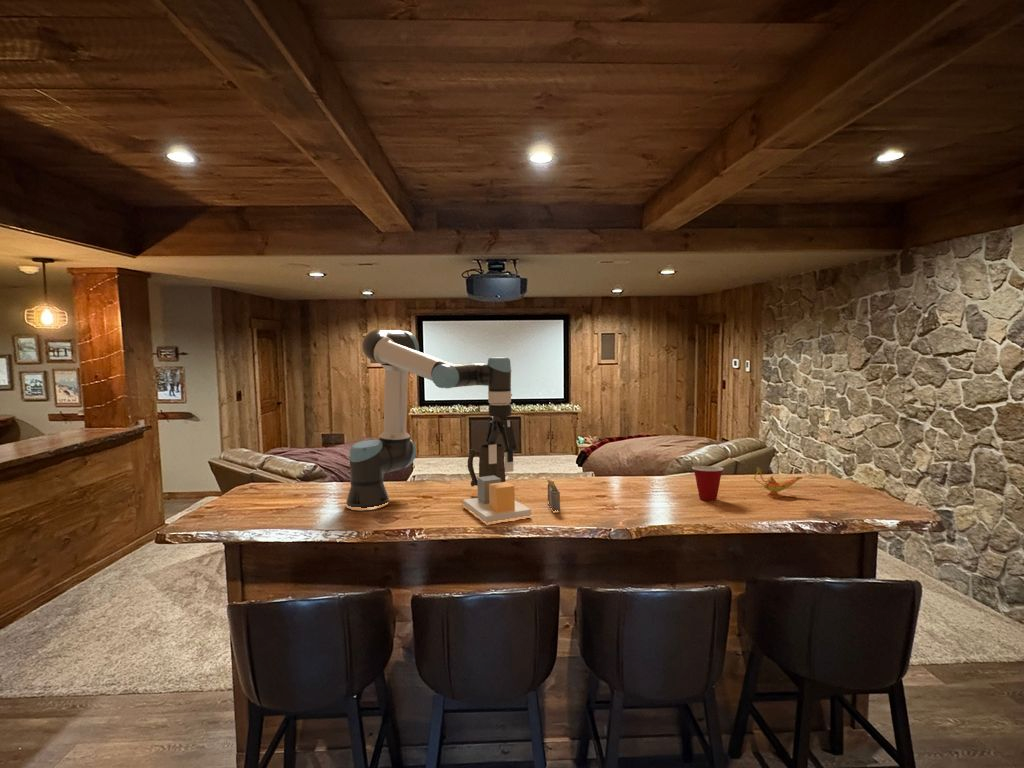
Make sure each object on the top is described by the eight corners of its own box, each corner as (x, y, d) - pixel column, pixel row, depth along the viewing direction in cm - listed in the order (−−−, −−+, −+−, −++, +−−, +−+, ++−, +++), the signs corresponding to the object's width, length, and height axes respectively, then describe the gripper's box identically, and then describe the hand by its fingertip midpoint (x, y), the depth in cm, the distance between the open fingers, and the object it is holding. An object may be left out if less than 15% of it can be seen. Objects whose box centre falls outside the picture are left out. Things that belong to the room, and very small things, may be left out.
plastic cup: (718, 495, 193) (718, 463, 192) (727, 503, 182) (727, 470, 182) (688, 495, 194) (688, 463, 194) (696, 503, 183) (696, 470, 183)
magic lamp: (808, 497, 187) (808, 467, 187) (758, 498, 188) (758, 468, 187) (797, 492, 194) (797, 464, 194) (749, 493, 194) (750, 464, 194)
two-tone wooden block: (489, 507, 173) (488, 484, 173) (506, 504, 176) (506, 481, 175) (497, 512, 167) (496, 488, 167) (514, 509, 170) (514, 485, 170)
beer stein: (510, 491, 205) (505, 441, 204) (507, 498, 194) (502, 446, 193) (472, 493, 206) (467, 444, 205) (467, 501, 196) (462, 449, 195)
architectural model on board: (546, 505, 187) (546, 478, 186) (555, 504, 187) (554, 478, 186) (551, 514, 175) (550, 486, 175) (560, 514, 175) (559, 486, 175)
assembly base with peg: (463, 508, 183) (462, 477, 183) (504, 501, 190) (503, 472, 190) (486, 525, 163) (485, 491, 163) (531, 518, 170) (530, 485, 170)
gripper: (526, 406, 160) (527, 473, 161) (495, 400, 183) (496, 459, 184) (504, 408, 157) (505, 476, 158) (475, 401, 180) (476, 461, 181)
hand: (500, 467), depth 171 cm, fingers open, 13 cm apart
